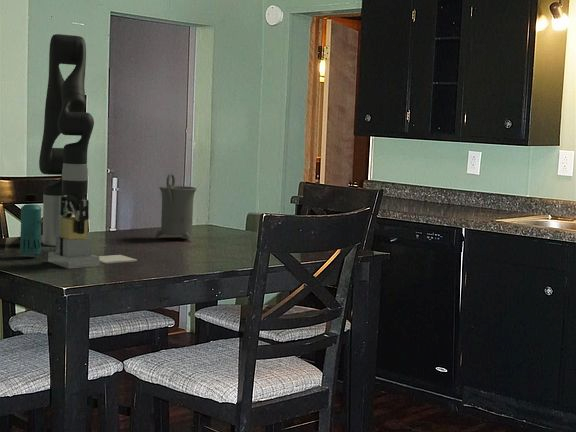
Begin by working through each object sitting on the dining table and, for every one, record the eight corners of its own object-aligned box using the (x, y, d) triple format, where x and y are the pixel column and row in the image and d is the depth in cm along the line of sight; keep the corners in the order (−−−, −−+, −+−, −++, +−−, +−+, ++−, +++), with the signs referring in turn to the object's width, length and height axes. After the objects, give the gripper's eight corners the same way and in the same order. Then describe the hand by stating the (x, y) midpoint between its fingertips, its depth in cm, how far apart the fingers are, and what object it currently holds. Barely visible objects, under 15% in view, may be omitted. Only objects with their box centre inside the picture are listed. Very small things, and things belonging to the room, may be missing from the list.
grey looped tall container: (166, 235, 355) (168, 170, 352) (202, 238, 351) (205, 172, 348) (146, 241, 337) (148, 172, 334) (184, 244, 333) (186, 174, 330)
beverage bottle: (19, 259, 285) (20, 194, 283) (19, 255, 291) (20, 192, 289) (41, 259, 287) (42, 195, 285) (41, 255, 293) (41, 193, 291)
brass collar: (60, 237, 280) (60, 217, 279) (78, 236, 284) (78, 216, 283) (69, 239, 275) (69, 219, 275) (87, 238, 279) (87, 218, 278)
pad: (89, 258, 292) (89, 256, 292) (120, 256, 299) (120, 254, 299) (105, 263, 283) (105, 262, 283) (137, 261, 290) (137, 259, 290)
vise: (48, 261, 283) (48, 219, 281) (78, 259, 289) (78, 218, 287) (68, 268, 272) (69, 224, 270) (99, 266, 278) (100, 223, 277)
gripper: (97, 180, 274) (96, 234, 276) (75, 176, 285) (74, 228, 287) (73, 180, 270) (73, 235, 271) (53, 177, 281) (52, 229, 282)
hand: (74, 232), depth 279 cm, fingers open, 8 cm apart
